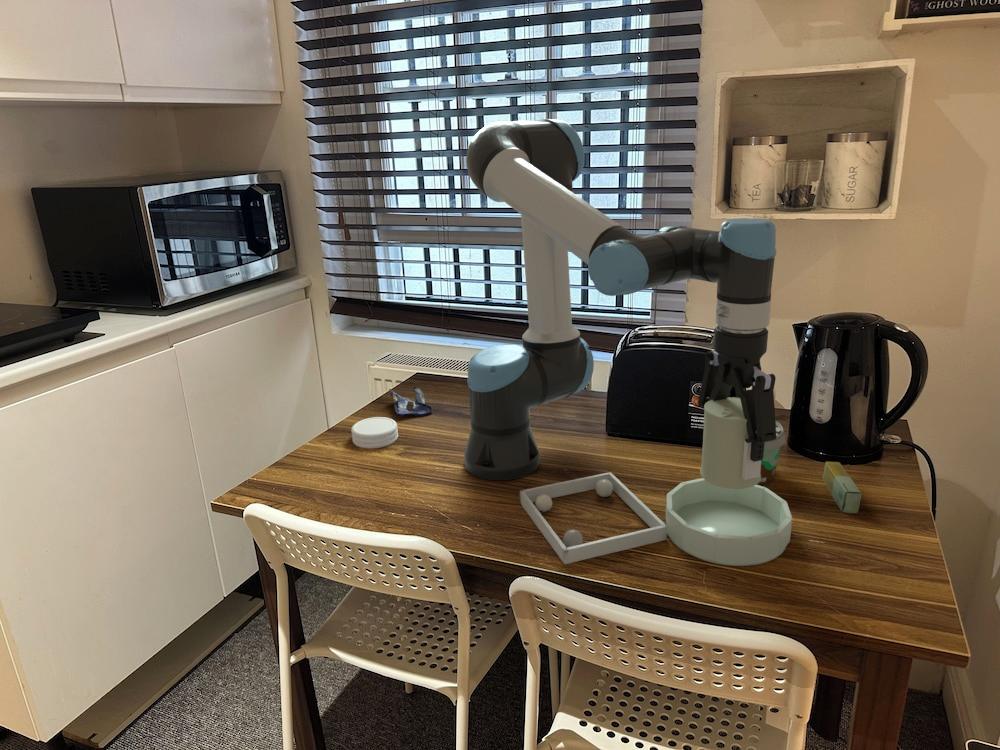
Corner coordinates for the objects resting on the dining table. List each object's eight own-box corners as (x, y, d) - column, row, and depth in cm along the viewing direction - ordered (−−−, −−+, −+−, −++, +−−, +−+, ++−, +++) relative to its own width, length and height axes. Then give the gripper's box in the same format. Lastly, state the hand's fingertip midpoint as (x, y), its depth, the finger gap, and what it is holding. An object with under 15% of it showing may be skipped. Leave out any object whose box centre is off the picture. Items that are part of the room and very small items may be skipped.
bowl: (644, 514, 122) (645, 490, 120) (738, 493, 127) (740, 469, 126) (708, 577, 105) (710, 550, 103) (814, 550, 110) (817, 523, 109)
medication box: (859, 514, 120) (862, 493, 118) (842, 513, 120) (845, 492, 119) (836, 480, 131) (839, 461, 129) (821, 479, 131) (824, 460, 130)
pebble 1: (532, 508, 125) (532, 493, 124) (548, 504, 126) (548, 489, 125) (539, 516, 123) (538, 501, 122) (555, 512, 124) (554, 497, 123)
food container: (786, 492, 127) (792, 441, 124) (750, 490, 128) (755, 440, 125) (775, 461, 138) (780, 414, 135) (742, 459, 140) (746, 412, 136)
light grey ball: (592, 493, 129) (592, 477, 128) (608, 490, 130) (608, 474, 129) (600, 501, 127) (600, 485, 125) (616, 498, 127) (616, 482, 126)
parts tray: (520, 502, 127) (519, 490, 126) (610, 483, 132) (610, 472, 132) (564, 564, 109) (564, 550, 109) (666, 539, 115) (667, 526, 114)
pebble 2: (559, 545, 114) (559, 528, 113) (578, 540, 115) (577, 523, 114) (567, 555, 111) (567, 538, 110) (586, 551, 112) (586, 534, 111)
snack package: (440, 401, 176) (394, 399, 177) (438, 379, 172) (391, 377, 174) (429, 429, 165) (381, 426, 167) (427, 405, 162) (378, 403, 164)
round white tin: (345, 438, 157) (343, 424, 156) (385, 426, 162) (383, 412, 161) (365, 454, 149) (363, 439, 148) (406, 440, 154) (405, 426, 153)
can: (689, 477, 112) (693, 407, 108) (716, 456, 118) (720, 389, 114) (745, 495, 106) (751, 422, 102) (770, 472, 112) (777, 402, 108)
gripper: (679, 312, 113) (673, 441, 120) (768, 350, 93) (755, 500, 101) (719, 307, 115) (711, 433, 122) (815, 342, 95) (798, 490, 103)
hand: (731, 463), depth 112 cm, fingers closed on can, 9 cm apart
